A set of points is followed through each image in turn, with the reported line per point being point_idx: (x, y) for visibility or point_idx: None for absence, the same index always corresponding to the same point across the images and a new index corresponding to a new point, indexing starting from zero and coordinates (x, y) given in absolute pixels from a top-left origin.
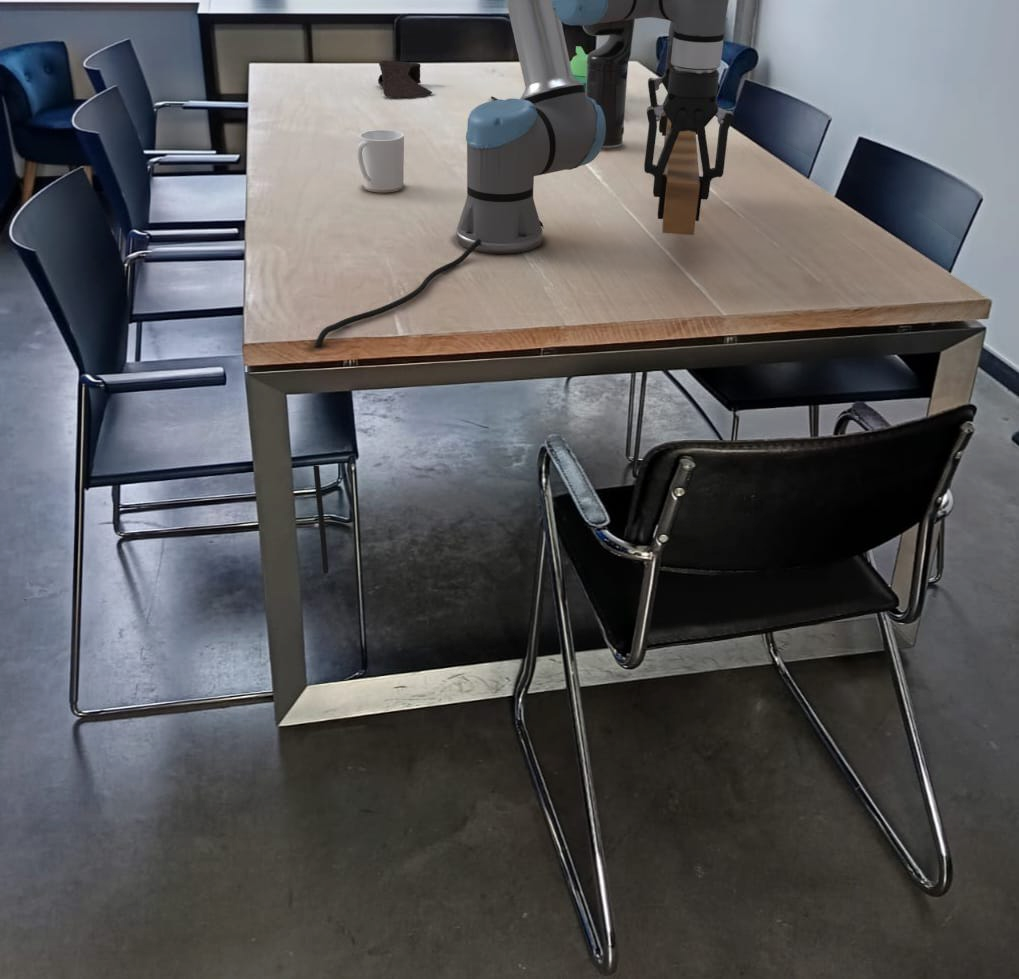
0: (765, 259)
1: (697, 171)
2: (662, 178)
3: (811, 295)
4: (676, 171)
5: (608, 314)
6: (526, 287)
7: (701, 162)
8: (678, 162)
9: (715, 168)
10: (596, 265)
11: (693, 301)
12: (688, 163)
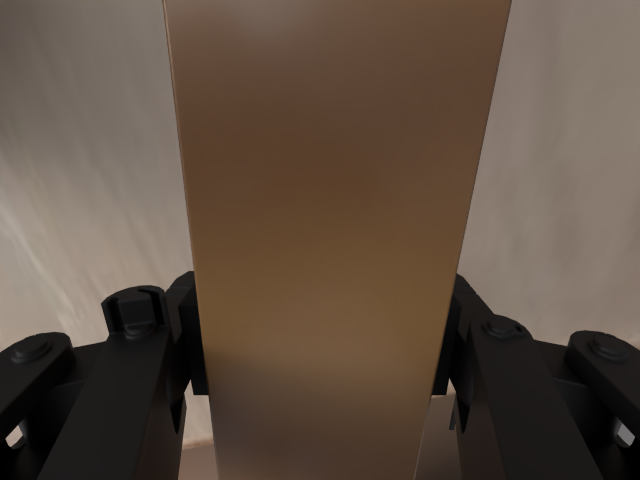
0: (601, 49)
1: (427, 371)
2: (194, 385)
3: (611, 291)
4: (270, 397)
5: (205, 411)
6: (24, 321)
7: (475, 455)
8: (285, 147)
9: (574, 414)
10: (131, 173)
11: None
12: (384, 162)
